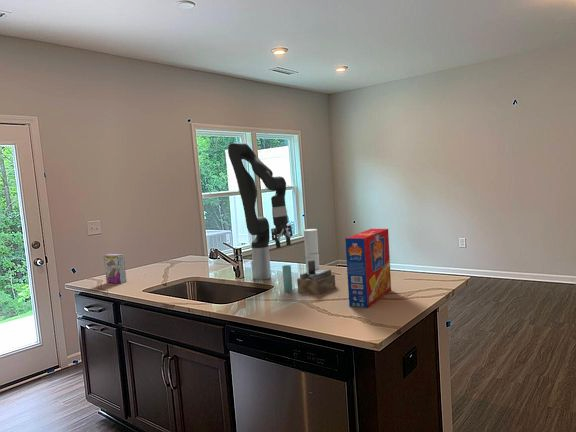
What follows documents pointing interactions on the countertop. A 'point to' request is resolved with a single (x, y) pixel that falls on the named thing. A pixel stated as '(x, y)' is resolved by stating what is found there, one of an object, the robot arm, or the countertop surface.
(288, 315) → the countertop surface
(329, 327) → the countertop surface
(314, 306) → the countertop surface
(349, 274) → the pasta box
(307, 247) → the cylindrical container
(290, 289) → the teal peg
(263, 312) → the countertop surface
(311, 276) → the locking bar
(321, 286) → the socket block
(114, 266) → the candy bar box
